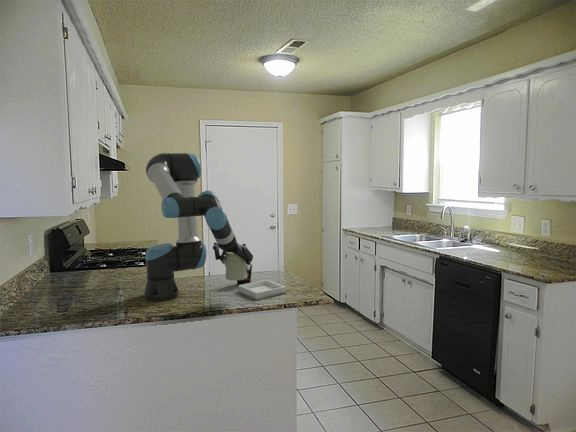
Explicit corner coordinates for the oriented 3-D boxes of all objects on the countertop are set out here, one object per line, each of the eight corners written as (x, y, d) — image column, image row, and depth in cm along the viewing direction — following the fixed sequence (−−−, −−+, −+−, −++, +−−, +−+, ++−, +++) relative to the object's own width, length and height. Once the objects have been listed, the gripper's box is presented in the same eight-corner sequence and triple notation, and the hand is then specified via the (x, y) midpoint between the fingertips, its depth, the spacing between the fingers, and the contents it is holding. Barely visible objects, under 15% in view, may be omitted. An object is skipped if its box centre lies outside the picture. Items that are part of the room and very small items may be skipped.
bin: (256, 300, 178) (256, 293, 178) (238, 291, 191) (238, 285, 190) (286, 293, 187) (286, 286, 187) (267, 285, 200) (266, 279, 200)
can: (235, 273, 183) (235, 247, 181) (251, 276, 178) (251, 249, 176) (221, 278, 175) (220, 250, 174) (237, 281, 170) (236, 253, 169)
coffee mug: (254, 282, 207) (253, 262, 205) (250, 287, 198) (250, 266, 197) (231, 281, 208) (231, 262, 207) (227, 286, 199) (226, 266, 198)
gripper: (197, 244, 162) (213, 273, 179) (249, 246, 157) (260, 275, 175) (202, 229, 166) (217, 258, 184) (253, 230, 162) (263, 260, 179)
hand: (238, 267), depth 179 cm, fingers closed on can, 9 cm apart
